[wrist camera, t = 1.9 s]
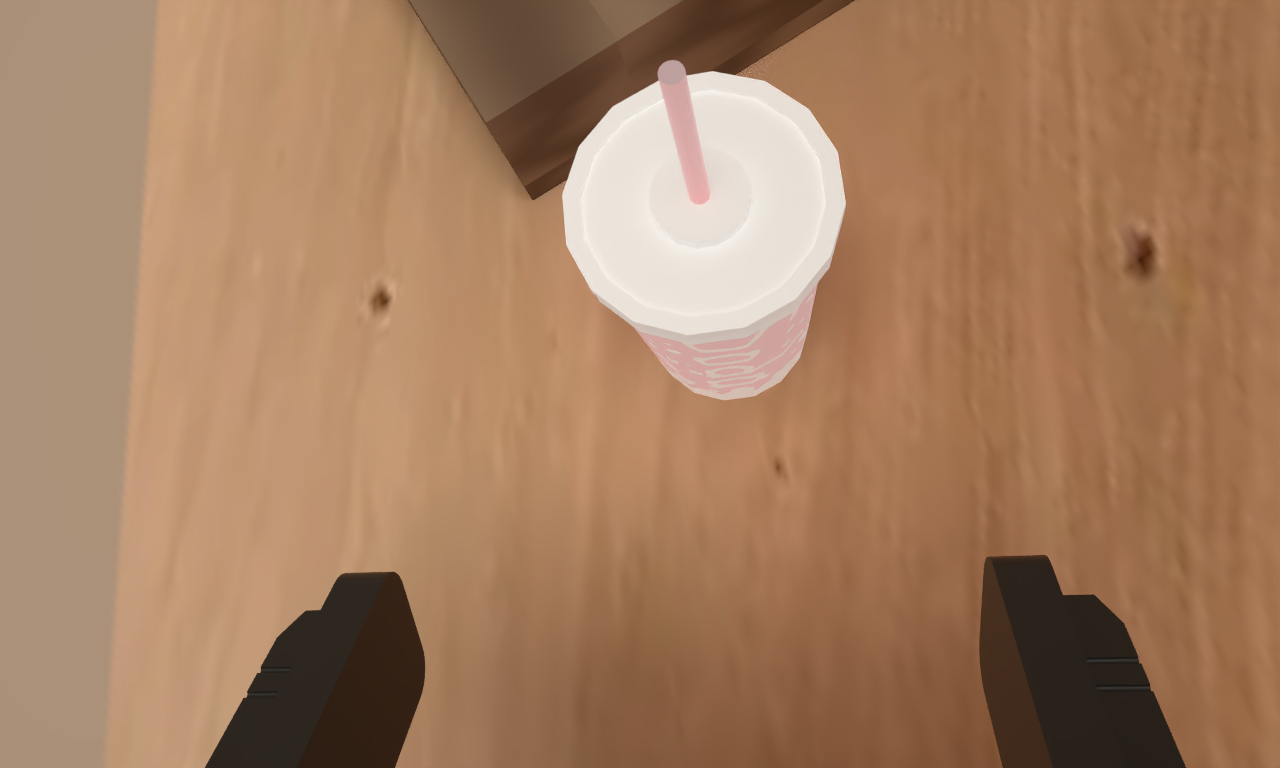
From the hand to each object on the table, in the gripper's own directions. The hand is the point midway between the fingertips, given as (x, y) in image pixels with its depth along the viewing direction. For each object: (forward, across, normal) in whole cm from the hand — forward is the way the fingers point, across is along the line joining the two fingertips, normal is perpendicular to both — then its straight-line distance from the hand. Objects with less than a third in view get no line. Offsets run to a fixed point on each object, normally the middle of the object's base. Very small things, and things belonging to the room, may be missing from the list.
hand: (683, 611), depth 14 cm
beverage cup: (+17, 0, +4) cm, 17 cm away
